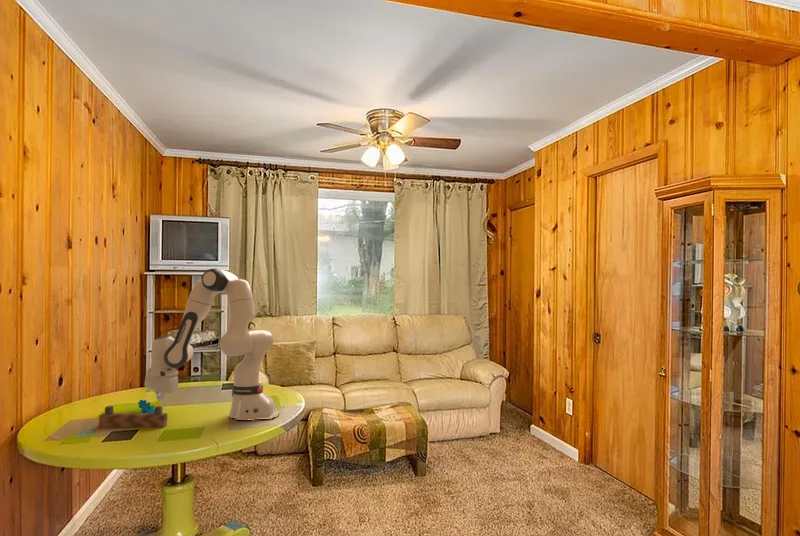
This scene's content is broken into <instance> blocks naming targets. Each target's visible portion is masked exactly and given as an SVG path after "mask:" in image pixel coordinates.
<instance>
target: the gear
mask: <svg viewBox="0 0 800 536" xmlns="http://www.w3.org/2000/svg"><path fill="white" fill-rule="evenodd" d="M137 404H138V408H139V409H140V411H141V413H154V412H155V407H156V405H155V404H152V405H151V402H150V401H147V400H145V399H140V400H139V401H138V402H137Z"/></svg>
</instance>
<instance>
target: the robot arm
mask: <svg viewBox="0 0 800 536" xmlns="http://www.w3.org/2000/svg"><path fill="white" fill-rule="evenodd" d="M218 294H220V295H227V298H228V306H229V315H230V323H229V327H228V329H227V331H226V332H225V333H224V334H223V335H222V337H221V338H220V341H219V347H220V351H221V352H222V353H223V354H224V355H225V356H231V357H237V356H238V357H239V356H243V358H242V359H241V361H240V362H239V363H238V364H236V366H235V367H234V369H233V384H232V387H231V395H232V396H231V397H232V400H231V407H230V410H229V414H228V418H230V417H231V418H230V419H232V418H235V419H234V420H236V419H237V420H248V419H257V418H258V419H259V418H270V417H274V416H272V415H278V414H279V411H280V410H279V411H276V410H275V409H276V405H275V404H276V403H275V400H274V399H273V398H271V397H270V396H269V395H267V394H266V393H265V392H263V391H264V385H263V384H260V383H259V382H260V368H261V364H262V362H263V359H264V357H265V356H266V354H267V353H268V351H270V349H272V348H273V345H274V337H273V334H272V333H271V332H270V331H269V330H266V329H265V330H263V329H251V330H250V329H249V324H250V323H251V322H252V321H254V319H255V318H256V307H255V303H254V301H255V300H254V297H253V292H252V288H251V286H250V283H249V282H248V280H246V279H242V278H241V277H240V276H239V275H237V273H233V272H230V271H229V270H228V271H227V270H225V269H220V268H210V269H207V270H205V271H204V272H203V274H202V277H201V279H198V280H197V281H196V282H195V284H194V285H193V287H192V289H191V291H190V292H189V296H188V298H187V301H186V304H185V309H184V312H183V316H182V319H181V323H180V324H179V328H178V331H177V333H176V335H175V338H173V336H171V335H164V336H159V337H156V338H155V339H154V340H153V341H152V345H151V352H150V353H151V354H150V355H151V363H150V368H148V370H147V371H146V373H145V375H144V376H145V377H144V388H146V389H148V390H149V389H150V390H154V393H155V396H156V400H157V401H158V400H159V401H164V398H165V395H166V393H168V394H173V393H176V392H177V391H178V389H179V388H178V387H179V377H178V376H179V370H177V369H179V368H182V367H183V366H184V365H185V364H186V363H187V362H188V361H190V360H191V359H192V358H193V356H194V353H195V350H194V346H192V345H191V344H190V341H191V339H192V336H193V334H194V331H195V329H196V328H197V327H198V325H200V323H201V322H202V321H204V319H205V318H206V317H207V316H208V314H209V313H210V311H211V308H212V306H213V302H214V300H215V298H216V296H217V295H218ZM279 415H280V414H279ZM237 420H236V421H237Z"/></svg>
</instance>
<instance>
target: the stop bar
mask: <svg viewBox="0 0 800 536" xmlns="http://www.w3.org/2000/svg"><path fill="white" fill-rule="evenodd" d="M154 407H155V408H154V409H155V412H154V413H142V412H141V413H138V412H135V413H134V412H131V413H130V412H125V413H121V412H120V413H119V412H117V413H115V412H114V405H108V406H105V407H104V413H102V414H101V413H100V415H99V418H98V419H99V420H98V428H165V427H166V426H167V425H168V413H164V411H163V410H164V409H163V408H164V407H163V405H162V406H161V405H159V406H154Z"/></svg>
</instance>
